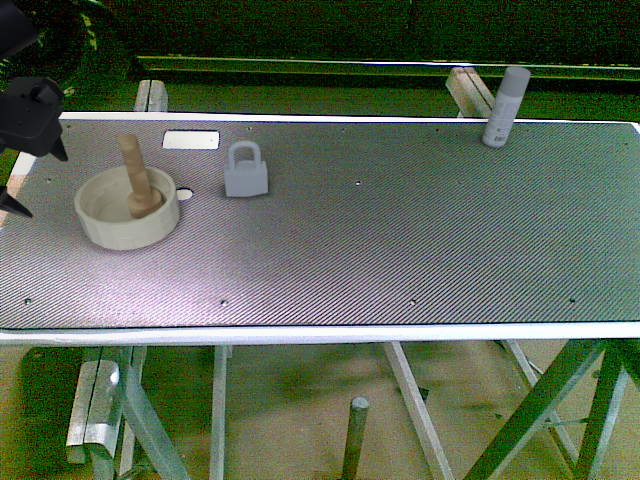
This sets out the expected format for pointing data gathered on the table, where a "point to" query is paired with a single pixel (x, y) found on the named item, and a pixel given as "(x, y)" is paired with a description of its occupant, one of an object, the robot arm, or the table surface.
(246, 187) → the padlock
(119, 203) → the bowl
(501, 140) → the container
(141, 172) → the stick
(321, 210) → the table surface
